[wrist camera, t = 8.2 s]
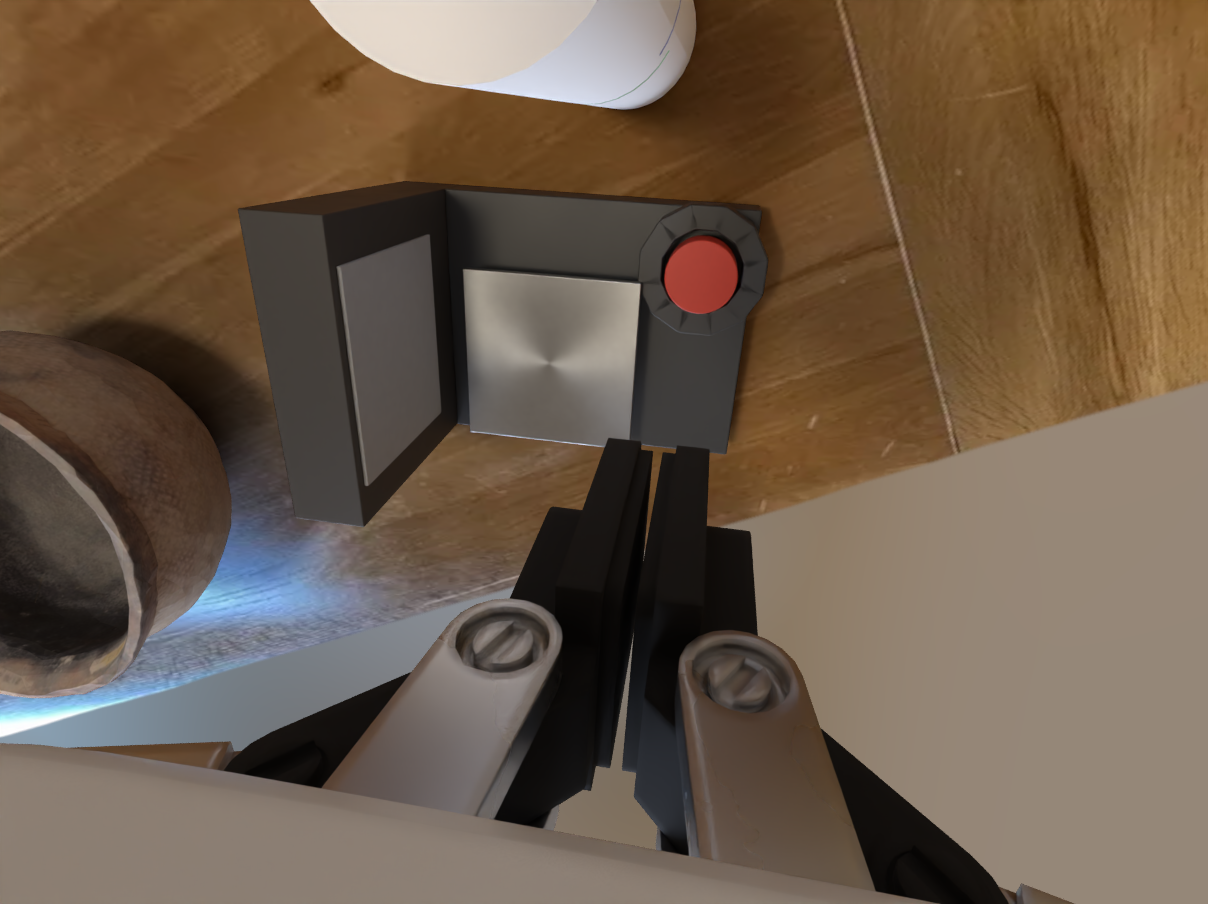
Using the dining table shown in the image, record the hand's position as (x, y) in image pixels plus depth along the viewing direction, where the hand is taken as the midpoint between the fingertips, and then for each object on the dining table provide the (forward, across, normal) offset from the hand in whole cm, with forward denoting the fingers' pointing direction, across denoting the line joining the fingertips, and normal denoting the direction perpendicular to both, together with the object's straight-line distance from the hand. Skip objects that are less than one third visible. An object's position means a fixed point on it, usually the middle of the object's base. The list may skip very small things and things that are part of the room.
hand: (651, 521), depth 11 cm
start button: (+26, 0, +1) cm, 26 cm away
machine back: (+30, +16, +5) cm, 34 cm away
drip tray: (+25, +8, +6) cm, 27 cm away
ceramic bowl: (+30, +39, +18) cm, 52 cm away
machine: (+30, +6, +5) cm, 31 cm away
